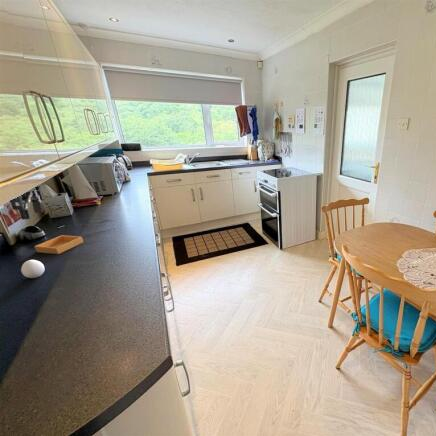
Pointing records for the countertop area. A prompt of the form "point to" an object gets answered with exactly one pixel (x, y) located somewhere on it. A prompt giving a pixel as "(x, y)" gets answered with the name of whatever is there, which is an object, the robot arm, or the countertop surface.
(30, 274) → the egg
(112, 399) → the countertop surface
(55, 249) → the bin
